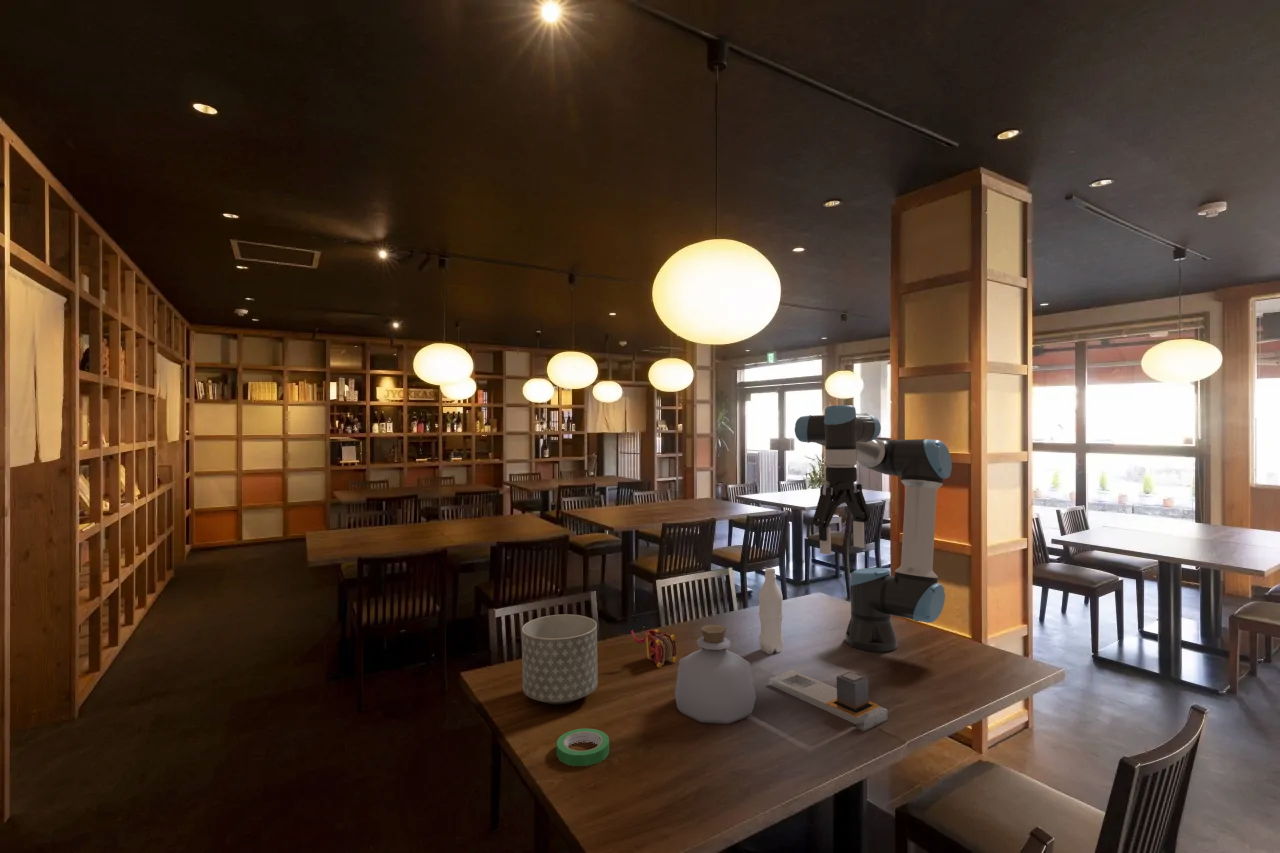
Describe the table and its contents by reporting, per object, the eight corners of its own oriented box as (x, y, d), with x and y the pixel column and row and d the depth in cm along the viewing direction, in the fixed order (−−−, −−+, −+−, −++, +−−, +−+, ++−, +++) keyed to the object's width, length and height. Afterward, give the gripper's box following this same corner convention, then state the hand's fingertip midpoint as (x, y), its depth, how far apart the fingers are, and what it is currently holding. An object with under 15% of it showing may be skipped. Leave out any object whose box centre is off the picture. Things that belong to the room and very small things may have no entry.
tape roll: (572, 735, 130) (572, 723, 130) (617, 745, 126) (617, 732, 126) (546, 762, 120) (546, 748, 120) (594, 773, 116) (594, 759, 116)
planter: (567, 675, 162) (566, 609, 162) (613, 696, 149) (612, 625, 149) (508, 697, 149) (507, 626, 149) (552, 723, 135) (551, 644, 135)
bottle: (660, 696, 148) (659, 622, 148) (727, 683, 155) (726, 612, 156) (696, 733, 130) (695, 648, 130) (771, 716, 137) (770, 636, 137)
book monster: (679, 663, 169) (642, 673, 164) (664, 653, 177) (628, 663, 172) (676, 626, 169) (639, 636, 164) (661, 619, 177) (626, 627, 172)
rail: (792, 679, 157) (792, 669, 157) (887, 719, 134) (887, 708, 134) (769, 687, 152) (769, 677, 152) (864, 731, 129) (863, 719, 129)
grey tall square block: (850, 704, 140) (849, 670, 140) (868, 712, 136) (868, 677, 136) (837, 710, 137) (836, 675, 138) (855, 718, 133) (855, 682, 133)
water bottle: (784, 656, 173) (782, 572, 173) (759, 655, 175) (758, 571, 175) (783, 648, 180) (781, 567, 180) (759, 646, 182) (758, 566, 182)
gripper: (857, 463, 158) (859, 542, 157) (796, 467, 143) (798, 554, 143) (883, 464, 151) (884, 546, 151) (821, 469, 137) (823, 559, 137)
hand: (842, 550), depth 147 cm, fingers open, 13 cm apart
